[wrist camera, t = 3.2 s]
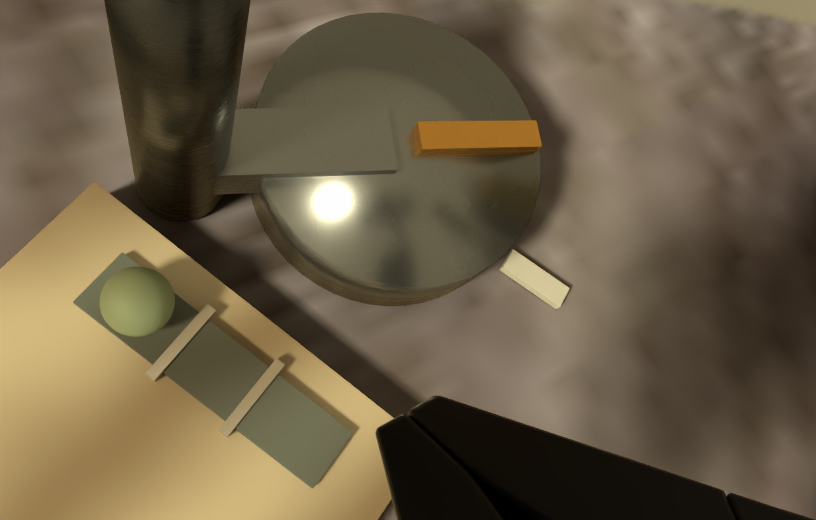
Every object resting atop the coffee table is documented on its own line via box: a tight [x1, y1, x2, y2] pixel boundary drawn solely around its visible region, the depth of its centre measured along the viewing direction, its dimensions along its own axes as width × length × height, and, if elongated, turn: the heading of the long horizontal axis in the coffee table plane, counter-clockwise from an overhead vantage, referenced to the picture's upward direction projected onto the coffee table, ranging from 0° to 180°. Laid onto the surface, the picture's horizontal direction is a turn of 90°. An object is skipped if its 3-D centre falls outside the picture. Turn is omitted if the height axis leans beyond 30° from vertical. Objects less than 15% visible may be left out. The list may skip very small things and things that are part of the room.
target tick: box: [499, 249, 570, 309], centre depth 24 cm, size 2×1×1 cm, turn 59°
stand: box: [0, 182, 394, 520], centre depth 18 cm, size 12×9×3 cm
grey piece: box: [104, 0, 542, 306], centre depth 18 cm, size 12×9×12 cm
